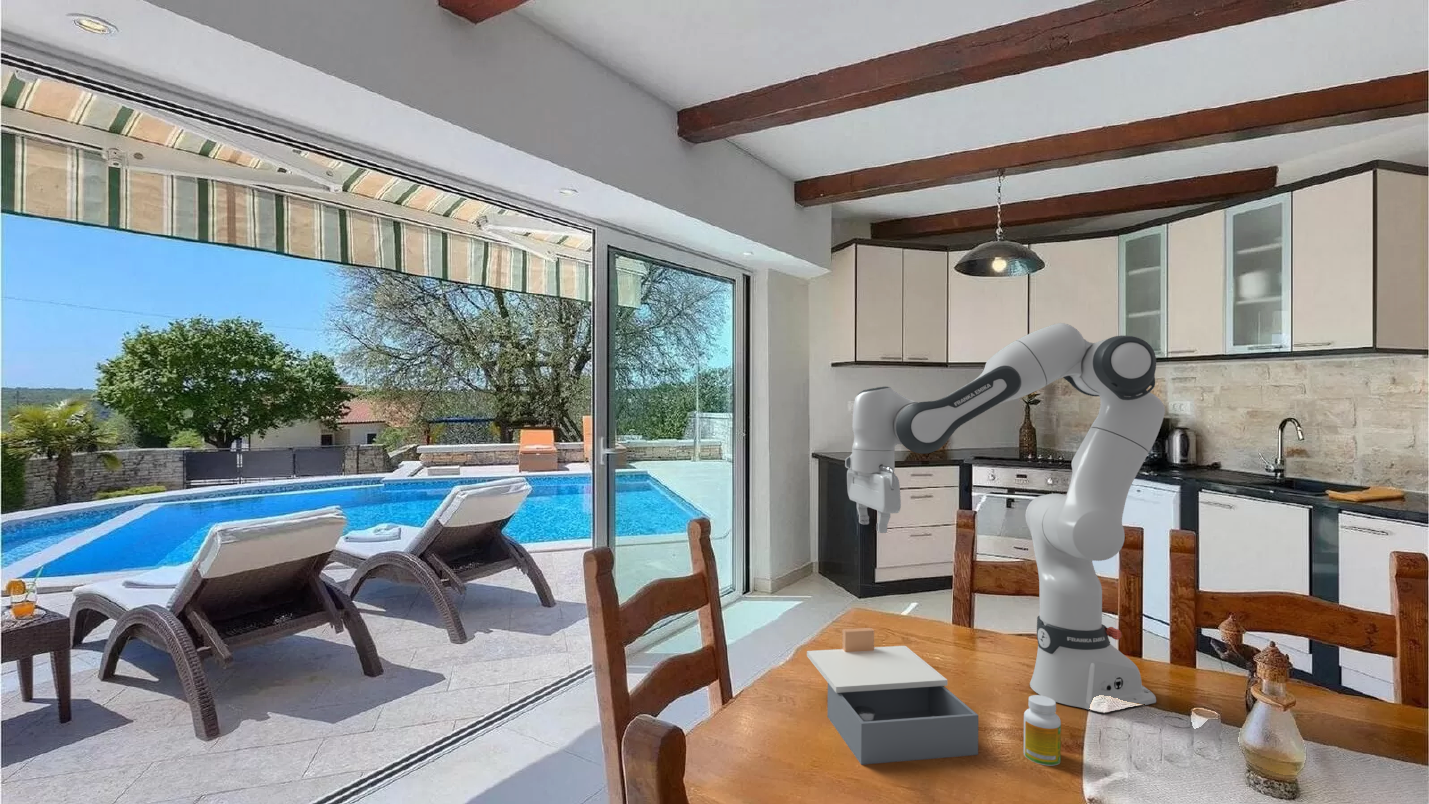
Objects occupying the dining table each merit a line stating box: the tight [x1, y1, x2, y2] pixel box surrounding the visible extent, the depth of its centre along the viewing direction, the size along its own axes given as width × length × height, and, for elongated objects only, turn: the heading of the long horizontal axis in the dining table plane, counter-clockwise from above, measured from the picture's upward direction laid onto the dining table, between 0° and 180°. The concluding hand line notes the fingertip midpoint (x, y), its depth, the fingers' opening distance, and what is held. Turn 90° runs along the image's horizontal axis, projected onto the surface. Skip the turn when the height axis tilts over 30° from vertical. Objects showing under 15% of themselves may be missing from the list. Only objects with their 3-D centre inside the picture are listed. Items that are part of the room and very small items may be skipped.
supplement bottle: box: [1023, 694, 1062, 767], centre depth 106 cm, size 5×5×10 cm
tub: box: [827, 682, 979, 766], centre depth 113 cm, size 20×16×7 cm
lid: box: [806, 627, 948, 693], centre depth 124 cm, size 21×17×5 cm
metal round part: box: [854, 706, 875, 722], centre depth 115 cm, size 4×4×3 cm
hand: (872, 528), depth 140 cm, fingers open, 8 cm apart
